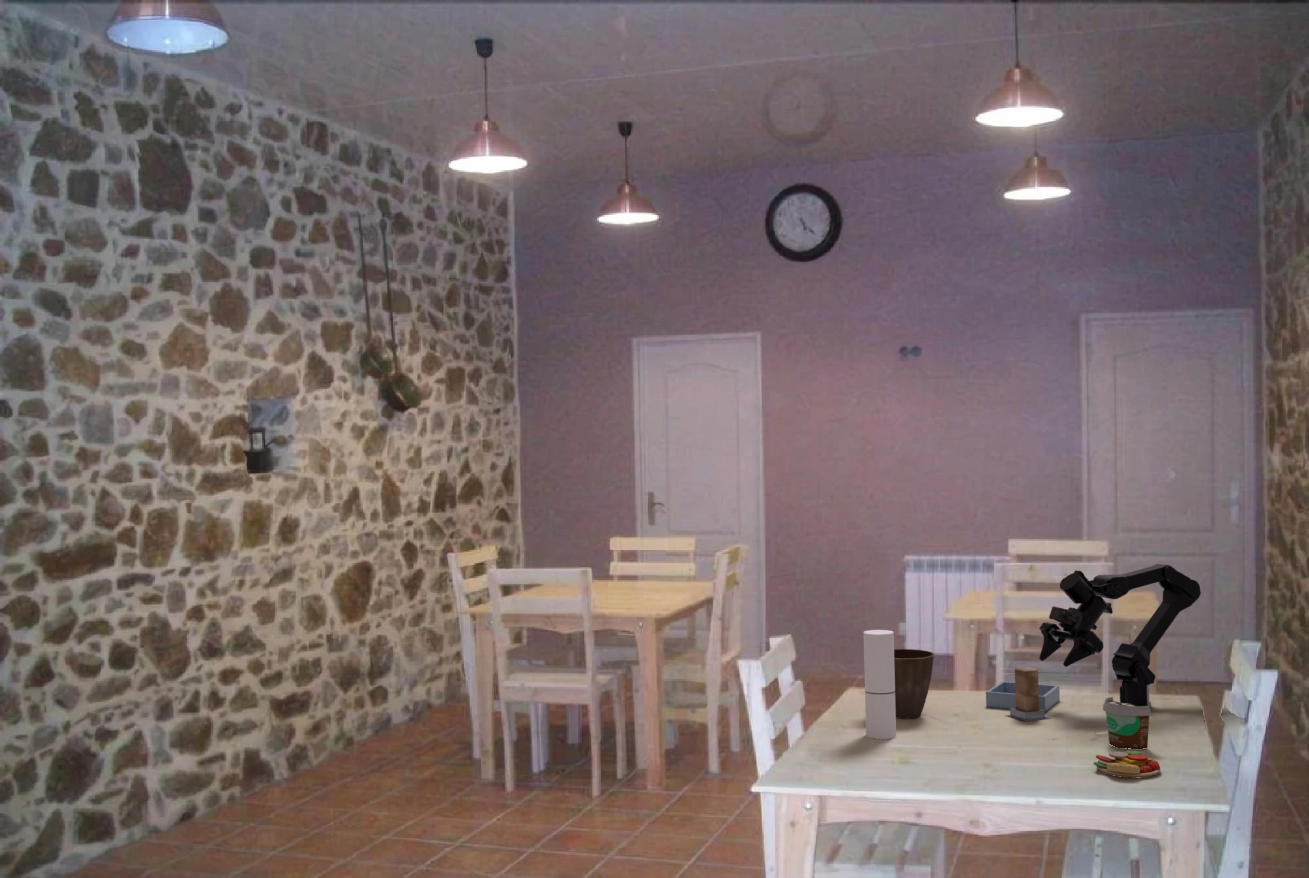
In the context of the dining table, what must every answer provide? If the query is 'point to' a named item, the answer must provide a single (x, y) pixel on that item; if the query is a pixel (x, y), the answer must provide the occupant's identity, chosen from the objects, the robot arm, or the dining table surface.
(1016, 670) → the strut
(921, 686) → the plant pot
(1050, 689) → the bin
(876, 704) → the cylindrical container
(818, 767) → the dining table surface
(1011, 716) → the socket block
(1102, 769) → the toy food set
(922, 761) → the dining table surface
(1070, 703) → the dining table surface
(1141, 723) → the food container
